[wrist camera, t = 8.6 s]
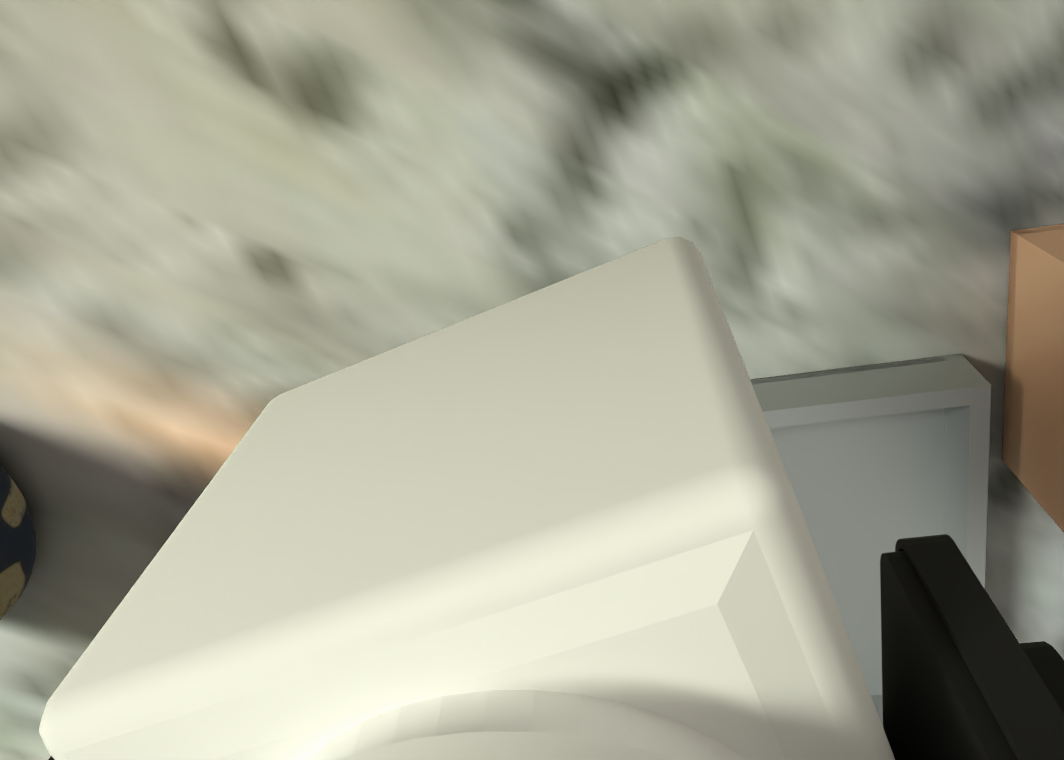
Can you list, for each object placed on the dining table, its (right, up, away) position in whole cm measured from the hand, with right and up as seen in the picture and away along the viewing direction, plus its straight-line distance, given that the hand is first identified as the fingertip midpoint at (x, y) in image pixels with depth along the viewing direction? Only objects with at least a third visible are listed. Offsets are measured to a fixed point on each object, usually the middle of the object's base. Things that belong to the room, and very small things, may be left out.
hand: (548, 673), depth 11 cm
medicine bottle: (0, +2, +4) cm, 4 cm away
